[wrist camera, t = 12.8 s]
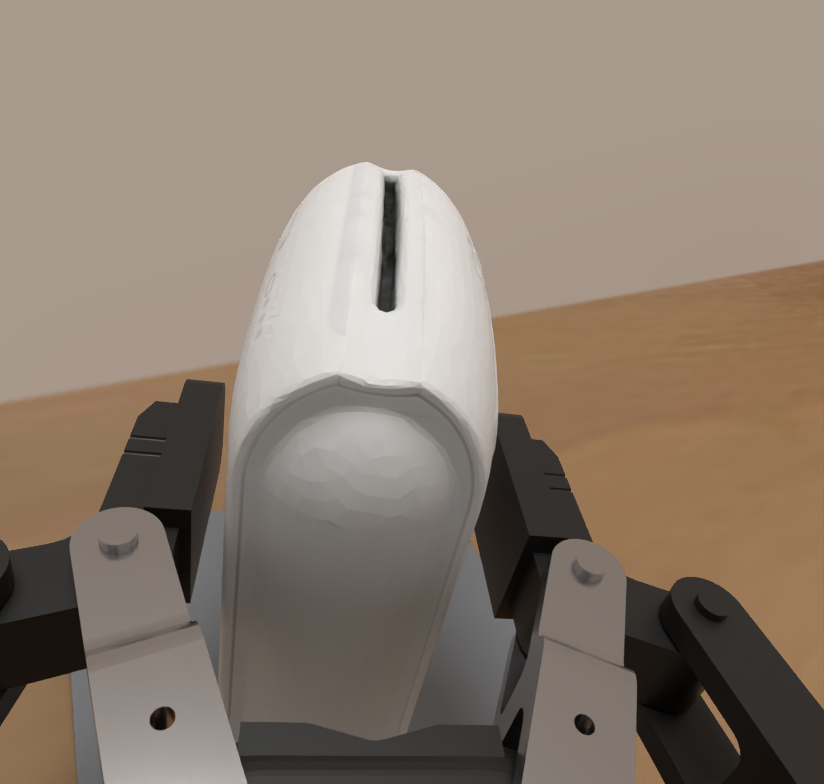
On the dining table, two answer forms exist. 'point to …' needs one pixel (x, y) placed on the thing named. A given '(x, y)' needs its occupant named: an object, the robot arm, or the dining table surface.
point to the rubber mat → (444, 681)
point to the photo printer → (354, 456)
